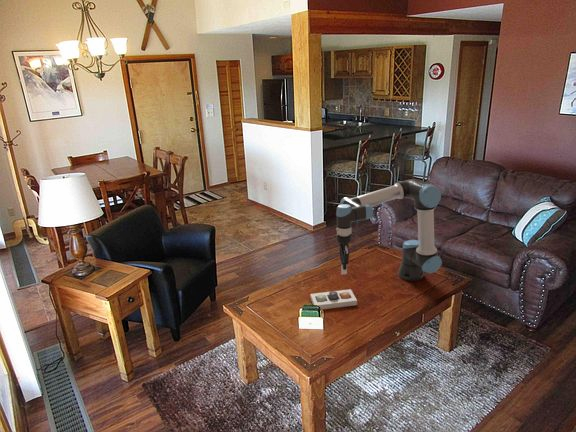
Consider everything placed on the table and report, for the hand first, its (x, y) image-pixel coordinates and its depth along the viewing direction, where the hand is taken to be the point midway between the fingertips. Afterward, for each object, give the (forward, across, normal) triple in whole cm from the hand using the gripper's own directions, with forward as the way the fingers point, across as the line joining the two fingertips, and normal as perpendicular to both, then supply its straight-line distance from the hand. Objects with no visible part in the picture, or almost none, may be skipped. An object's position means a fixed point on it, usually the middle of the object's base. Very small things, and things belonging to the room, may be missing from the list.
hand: (344, 273), depth 217 cm
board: (+20, -4, -5) cm, 21 cm away
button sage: (+19, -4, -12) cm, 23 cm away
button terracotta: (+19, -5, +2) cm, 20 cm away
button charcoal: (+18, -5, -5) cm, 19 cm away
